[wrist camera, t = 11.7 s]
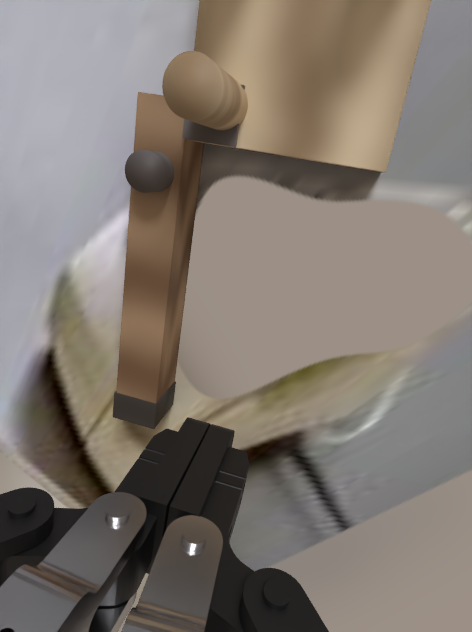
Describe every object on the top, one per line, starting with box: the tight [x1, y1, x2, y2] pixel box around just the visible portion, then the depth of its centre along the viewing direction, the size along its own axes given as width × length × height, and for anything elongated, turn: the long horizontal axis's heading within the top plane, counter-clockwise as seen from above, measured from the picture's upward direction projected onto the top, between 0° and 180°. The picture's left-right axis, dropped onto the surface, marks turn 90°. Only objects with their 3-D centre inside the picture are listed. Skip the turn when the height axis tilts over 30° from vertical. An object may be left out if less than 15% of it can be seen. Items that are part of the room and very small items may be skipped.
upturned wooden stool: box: [163, 0, 431, 172], centre depth 20 cm, size 11×12×9 cm
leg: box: [113, 92, 204, 429], centre depth 28 cm, size 21×3×5 cm, turn 170°
